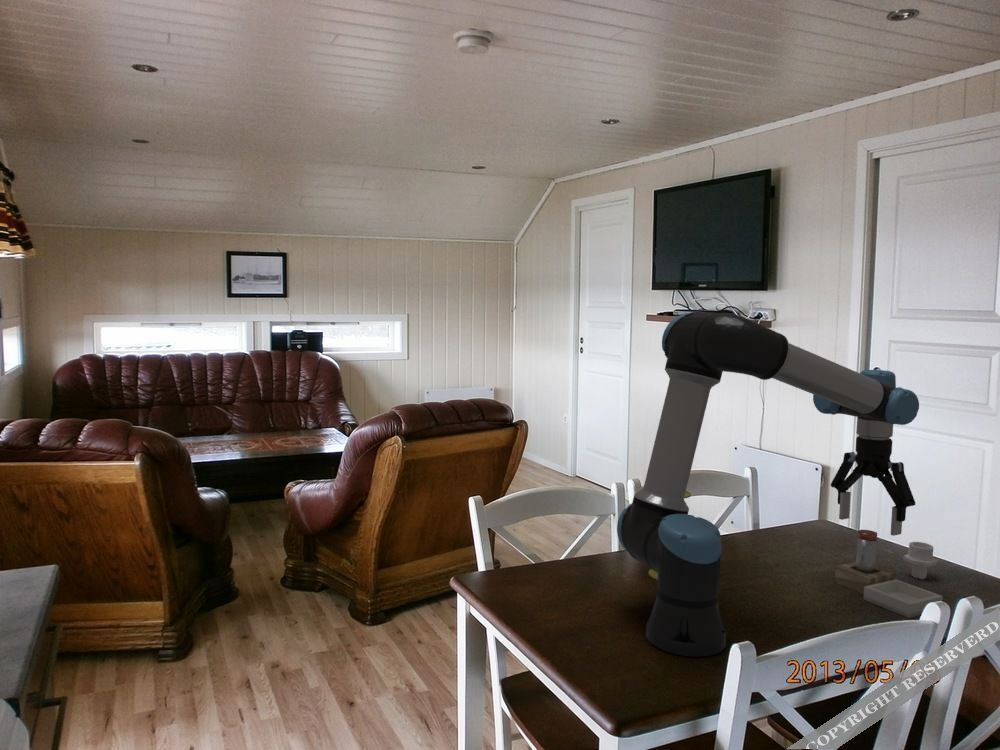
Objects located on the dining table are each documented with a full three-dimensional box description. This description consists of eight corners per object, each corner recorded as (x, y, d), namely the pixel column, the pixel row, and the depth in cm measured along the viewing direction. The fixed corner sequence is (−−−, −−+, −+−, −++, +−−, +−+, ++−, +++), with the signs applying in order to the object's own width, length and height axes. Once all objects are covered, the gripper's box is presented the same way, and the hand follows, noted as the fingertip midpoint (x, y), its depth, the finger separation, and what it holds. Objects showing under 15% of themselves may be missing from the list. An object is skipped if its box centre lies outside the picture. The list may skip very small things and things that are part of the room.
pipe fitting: (898, 575, 183) (900, 544, 182) (912, 570, 187) (914, 539, 187) (925, 583, 178) (928, 551, 177) (939, 577, 182) (941, 545, 182)
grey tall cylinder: (865, 590, 173) (869, 535, 172) (850, 584, 177) (854, 530, 176) (877, 587, 175) (881, 533, 174) (862, 581, 179) (865, 528, 177)
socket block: (868, 595, 170) (869, 578, 170) (834, 582, 178) (835, 566, 178) (894, 589, 174) (895, 572, 174) (860, 576, 182) (861, 560, 182)
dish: (909, 618, 158) (910, 604, 158) (863, 599, 168) (864, 586, 167) (941, 609, 163) (942, 596, 163) (895, 591, 173) (896, 579, 172)
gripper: (936, 445, 163) (930, 539, 165) (839, 427, 185) (834, 510, 187) (914, 447, 160) (908, 544, 162) (818, 429, 182) (813, 514, 184)
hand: (869, 526), depth 175 cm, fingers open, 13 cm apart
